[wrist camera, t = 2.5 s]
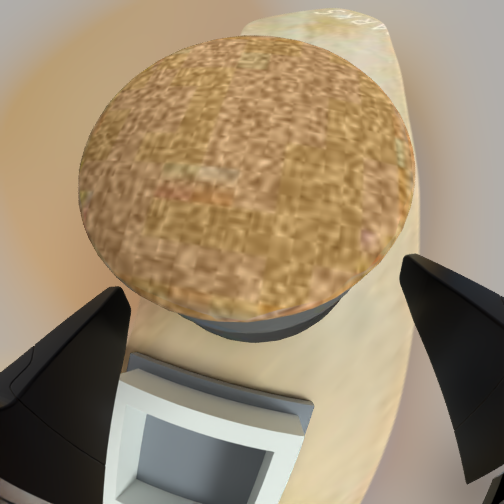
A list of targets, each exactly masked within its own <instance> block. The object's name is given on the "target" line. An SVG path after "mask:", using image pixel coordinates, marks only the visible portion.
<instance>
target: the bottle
mask: <svg viewBox="0 0 504 504" xmlns="http://www.w3.org/2000/svg"><path fill="white" fill-rule="evenodd" d="M414 186H415V161H414V154H413V148H412V145H411V141H410V138H409V134H408V131H407V129H406V126H405V124H404V122H403V120H402V118H401V116H400V114H399V112H398V111H397V109H396V108H395V106H394V105H393V103H392V102H391V100H390V99H389V97H388V96H387V95H386V94H385V93H384V92H383V90H382V89H381V88H380V87H379V86H378V85H377V84H376V83H375V82H374V81H373V80H372V79H371V78H370V77H368V76H367V75H366V74H365V73H363V72H362V71H361V70H360V69H358V68H357V67H355V66H354V65H353V64H351V63H350V62H348V61H347V60H345V59H343V58H341V57H339V56H338V55H336V54H334V53H332V52H330V51H328V50H325V49H323V48H320V47H317V46H314V45H311V44H308V43H305V42H301V41H297V40H292V39H286V38H280V37H273V36H245V35H244V36H236V37H228V38H221V39H216V40H211V41H207V42H204V43H200V44H196V45H193V46H190V47H187V48H184V49H181V50H179V51H177V52H175V53H173V54H171V55H169V56H167V57H165V58H163V59H161V60H159V61H157V62H156V63H154V64H153V65H151V66H150V67H148V68H147V69H145V70H144V71H143V72H141V73H140V74H138V75H137V76H136V77H134V78H133V79H132V80H131V81H130V82H129V83H128V84H127V85H126V86H125V87H124V88H122V89H121V90H120V91H119V92H118V93H117V94H116V95H115V97H114V98H113V99H112V100H111V101H110V103H109V104H108V105H107V106H106V108H105V110H104V111H103V113H102V114H101V116H100V117H99V119H98V121H97V122H96V124H95V126H94V127H93V129H92V131H91V133H90V136H89V138H88V141H87V143H86V146H85V148H84V152H83V156H82V160H81V164H80V169H79V207H80V212H81V217H82V221H83V225H84V227H85V230H86V233H87V235H88V238H89V240H90V241H91V243H92V245H93V247H94V249H95V250H96V252H97V254H98V256H99V257H100V258H101V259H102V261H103V262H104V263H105V264H106V266H107V267H108V268H109V269H110V270H111V272H112V273H113V274H114V275H115V276H116V277H117V278H118V279H119V280H120V281H122V282H123V283H124V284H125V285H126V286H127V287H128V288H130V289H131V290H132V291H134V292H135V293H137V294H138V295H140V296H142V297H144V298H146V299H148V300H149V301H151V302H153V303H155V304H157V305H159V306H161V307H163V308H165V309H167V310H169V311H173V312H176V313H178V314H179V315H181V316H182V317H184V318H186V319H188V320H190V321H193V322H194V323H196V324H197V325H199V326H200V327H202V328H203V329H205V330H207V331H209V332H211V333H213V334H216V335H219V336H221V337H224V338H227V339H230V340H235V341H242V342H249V343H259V342H268V341H277V340H281V339H284V338H287V337H290V336H293V335H296V334H298V333H300V332H302V331H304V330H306V329H308V328H309V327H311V326H312V325H314V324H316V323H317V322H319V321H320V320H321V319H322V318H323V317H325V316H326V315H327V314H328V313H329V312H330V311H331V310H332V309H333V308H334V306H335V305H336V304H337V303H338V302H339V300H340V299H341V298H342V297H343V296H344V295H345V294H346V293H347V292H348V291H349V290H350V288H351V287H352V286H354V285H355V284H356V283H358V282H359V281H360V280H361V279H362V278H363V277H364V276H365V275H367V274H368V273H369V272H370V271H371V270H372V269H373V268H374V267H376V266H377V265H378V264H379V263H380V262H381V260H382V259H383V258H384V256H385V255H386V254H387V252H388V251H389V249H390V248H391V247H392V245H393V244H394V242H395V241H396V239H397V237H398V236H399V234H400V232H401V231H402V229H403V227H404V224H405V221H406V218H407V216H408V213H409V210H410V207H411V203H412V197H413V192H414Z"/></svg>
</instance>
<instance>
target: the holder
mask: <svg viewBox="0 0 504 504" xmlns="http://www.w3.org/2000/svg"><path fill="white" fill-rule="evenodd" d="M313 409H314V404H313V402H311V401H306V400H300V399H295V398H289V397H284V396H280V395H275V394H270V393H266V392H261V391H257V390H253V389H249V388H245V387H241V386H237V385H234V384H230V383H226V382H223V381H219V380H216V379H212V378H209V377H206V376H203V375H199V374H196V373H193V372H190V371H187V370H184V369H181V368H178V367H175V366H173V365H170V364H167V363H164V362H162V361H159V360H156V359H154V358H151V357H148V356H146V355H143V354H141V353H138V352H134V353H130V358H129V363H128V368H127V372H125V373H121V374H120V378H119V383H118V388H117V393H116V398H115V404H114V409H113V415H112V421H111V428H110V435H109V442H108V449H107V458H106V465H105V466H106V469H105V480H104V494H103V504H278V502H279V500H280V498H281V496H282V493H283V491H284V489H285V487H286V484H287V482H288V479H289V477H290V475H291V472H292V470H293V467H294V464H295V462H296V459H297V457H298V454H299V451H300V449H301V446H302V443H303V440H304V438H305V433H306V430H307V427H308V424H309V421H310V418H311V415H312V412H313Z"/></svg>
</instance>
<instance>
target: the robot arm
mask: <svg viewBox="0 0 504 504" xmlns="http://www.w3.org/2000/svg"><path fill="white" fill-rule="evenodd" d="M399 280H400V285H401V287H402V290H403V293H404V295H405V298H406V301H407V304H408V307H409V309H410V312H411V315H412V318H413V321H414V323H415V326H416V328H417V330H418V332H419V335H420V337H421V339H422V342H423V344H424V346H425V349H426V351H427V354H428V356H429V359H430V361H431V364H432V366H433V369H434V372H435V374H436V377H437V380H438V382H439V385H440V388H441V391H442V394H443V396H444V399H445V403H446V406H447V409H448V412H449V415H450V419H451V422H452V425H453V429H454V430H455V431H454V433H455V437H456V440H457V444H458V448H459V452H460V457H461V461H462V465H463V470H464V475H465V480H466V483H467V484H469V483H471V482H473V481H475V480H477V479H479V478H481V477H483V476H485V475H486V474H488V473H490V472H492V471H493V470H495V469H497V468H498V467H500V466H502V465H503V464H504V297H502V296H500V295H499V294H497V293H495V292H493V291H491V290H489V289H487V288H485V287H484V286H482V285H480V284H478V283H476V282H474V281H472V280H470V279H468V278H466V277H464V276H462V275H460V274H458V273H456V272H454V271H452V270H450V269H448V268H446V267H444V266H442V265H440V264H438V263H435V262H433V261H431V260H429V259H427V258H425V257H423V256H420V255H418V254H408V255H405V256H404V258H403V262H402V267H401V272H400V277H399ZM130 315H131V308H130V305H129V302H128V300H127V298H126V296H125V294H124V291H123V289H122V288H121V287H119V286H117V287H109V288H107V289H106V290H104V291H103V292H102V293H100V294H99V295H98V296H96V297H95V298H94V299H92V300H91V301H90V302H88V303H87V304H86V305H84V306H83V307H82V308H81V309H79V310H78V311H77V312H75V313H74V314H73V315H72V316H70V317H69V318H67V319H66V320H65V321H64V322H62V323H61V324H60V325H59V326H57V327H56V328H55V329H54V330H52V331H51V332H50V333H49V334H47V335H46V336H45V337H44V338H43V339H41V340H40V341H39V342H38V343H36V344H35V346H33V347H31V348H30V349H29V350H28V351H27V352H26V353H24V355H22V356H21V357H19V358H18V359H17V360H16V361H14V362H13V363H12V364H11V365H9V366H8V367H7V368H6V369H4V370H3V371H2V372H0V504H103V494H104V480H105V469H106V466H105V465H106V458H107V449H108V442H109V435H110V428H111V421H112V415H113V409H114V404H115V398H116V393H117V388H118V383H119V378H120V373H121V369H122V364H123V360H124V355H125V350H126V343H127V336H128V328H129V321H130ZM483 504H504V472H502V473H501V474H499V475H498V476H497V477H495V478H494V479H493V480H492V483H491V485H490V488H489V490H488V492H487V495H486V497H485V499H484V501H483Z"/></svg>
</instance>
